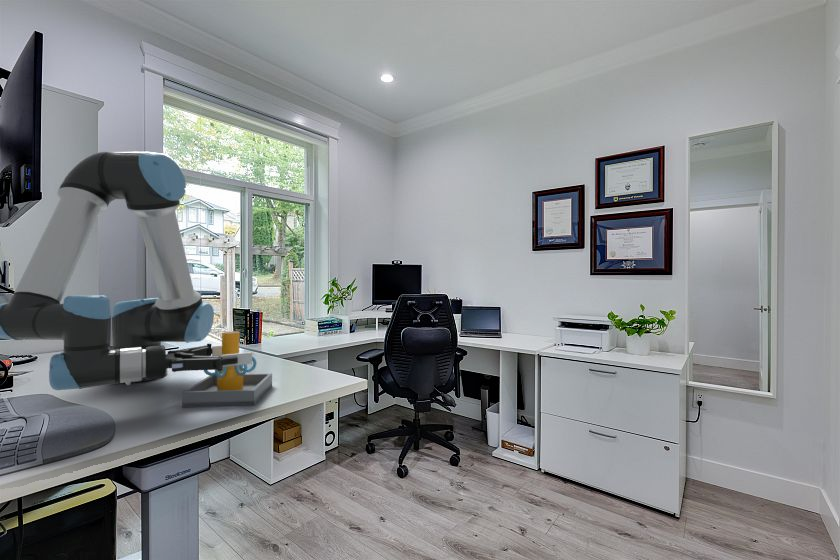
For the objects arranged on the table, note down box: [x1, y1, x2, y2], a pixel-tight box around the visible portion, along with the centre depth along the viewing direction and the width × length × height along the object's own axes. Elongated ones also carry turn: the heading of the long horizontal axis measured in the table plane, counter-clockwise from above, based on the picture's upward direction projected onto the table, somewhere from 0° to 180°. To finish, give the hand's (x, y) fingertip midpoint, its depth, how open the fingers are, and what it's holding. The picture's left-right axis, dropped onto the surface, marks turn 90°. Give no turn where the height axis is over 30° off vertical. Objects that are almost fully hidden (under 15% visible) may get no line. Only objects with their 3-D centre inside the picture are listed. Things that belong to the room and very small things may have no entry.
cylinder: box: [203, 330, 258, 390], centre depth 99 cm, size 12×10×15 cm
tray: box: [181, 373, 273, 408], centre depth 98 cm, size 16×16×4 cm
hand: (245, 353), depth 100 cm, fingers open, 13 cm apart
